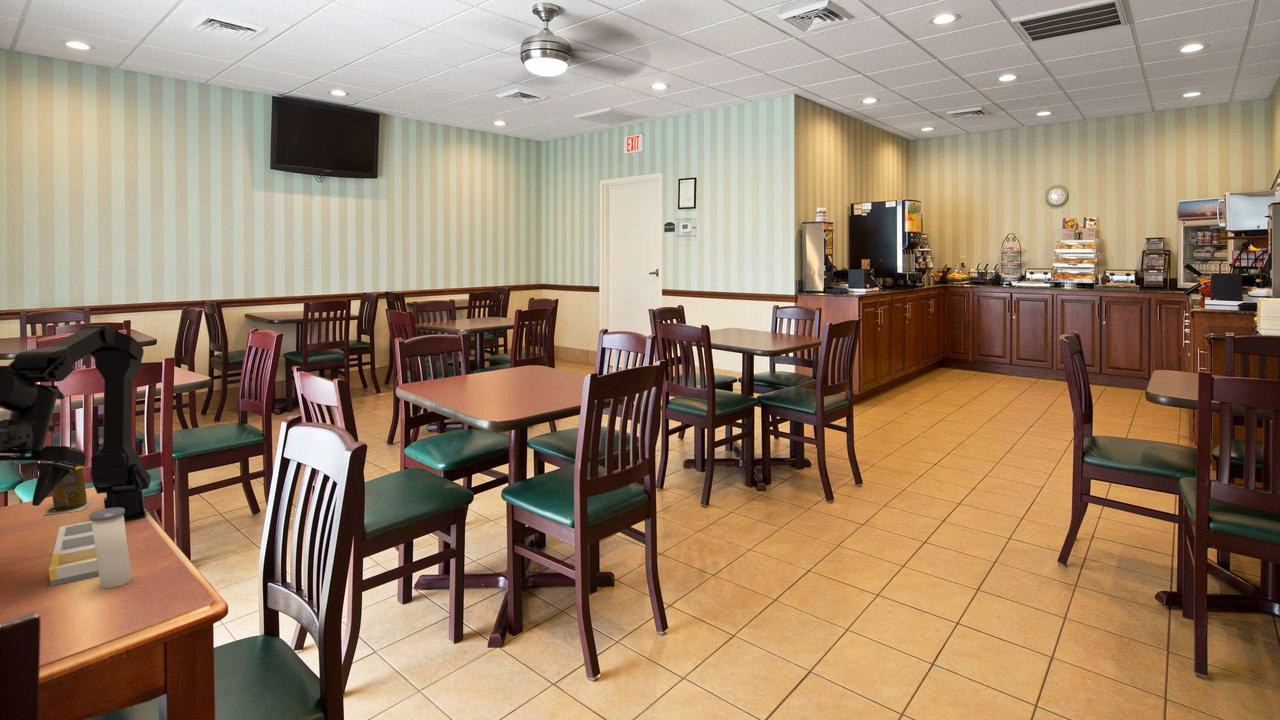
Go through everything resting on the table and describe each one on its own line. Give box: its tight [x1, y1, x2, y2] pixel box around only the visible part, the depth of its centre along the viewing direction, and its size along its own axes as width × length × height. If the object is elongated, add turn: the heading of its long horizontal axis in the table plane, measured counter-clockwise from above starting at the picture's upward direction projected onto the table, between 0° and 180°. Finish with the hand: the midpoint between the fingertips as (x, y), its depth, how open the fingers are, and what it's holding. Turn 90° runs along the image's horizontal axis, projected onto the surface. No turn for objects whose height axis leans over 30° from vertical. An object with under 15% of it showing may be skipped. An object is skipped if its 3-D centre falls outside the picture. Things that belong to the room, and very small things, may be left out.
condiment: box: [42, 466, 94, 516], centre depth 161 cm, size 7×8×12 cm
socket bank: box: [48, 520, 99, 587], centre depth 135 cm, size 8×24×3 cm, turn 35°
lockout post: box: [88, 507, 133, 589], centre depth 124 cm, size 5×5×13 cm
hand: (7, 505), depth 122 cm, fingers open, 9 cm apart
